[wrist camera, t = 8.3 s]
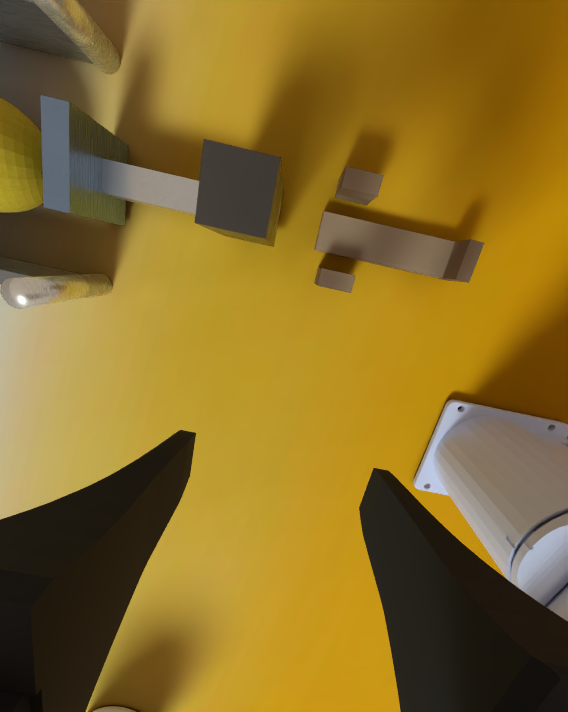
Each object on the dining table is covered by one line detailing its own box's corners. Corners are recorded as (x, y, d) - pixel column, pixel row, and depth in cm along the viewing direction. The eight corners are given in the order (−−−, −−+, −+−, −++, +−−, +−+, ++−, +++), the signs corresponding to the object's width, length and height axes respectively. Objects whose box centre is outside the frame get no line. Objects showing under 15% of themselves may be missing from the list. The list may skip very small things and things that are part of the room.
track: (473, 211, 18) (501, 203, 16) (436, 310, 20) (456, 316, 18) (330, 177, 18) (337, 163, 15) (307, 281, 20) (309, 283, 17)
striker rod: (286, 182, 17) (284, 136, 11) (272, 259, 19) (262, 256, 12) (107, 140, 17) (-1, 67, 11) (105, 221, 18) (8, 199, 12)
